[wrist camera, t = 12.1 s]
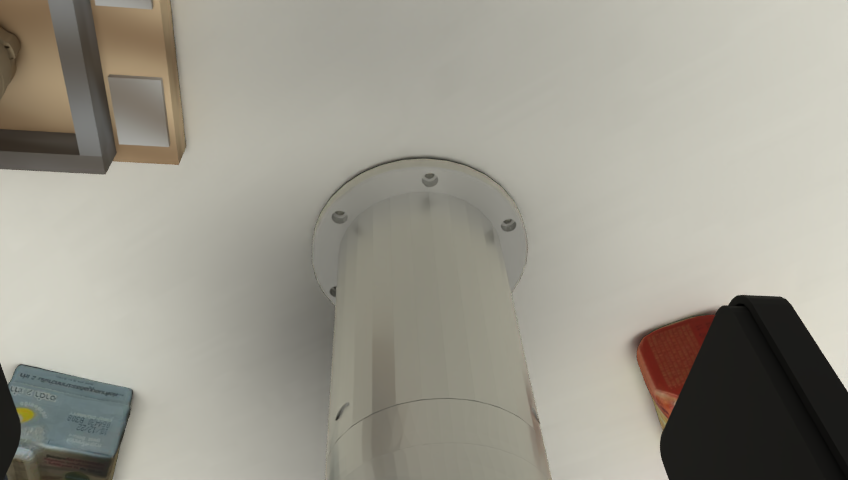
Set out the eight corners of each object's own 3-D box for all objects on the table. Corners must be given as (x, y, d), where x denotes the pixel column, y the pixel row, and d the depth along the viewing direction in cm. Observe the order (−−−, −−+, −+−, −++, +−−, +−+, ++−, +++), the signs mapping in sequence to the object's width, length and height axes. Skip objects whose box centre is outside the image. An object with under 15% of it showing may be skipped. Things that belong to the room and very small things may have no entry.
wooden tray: (185, 146, 40) (170, 186, 37) (-75, 132, 38) (-113, 171, 35) (154, -145, 31) (130, -124, 28) (-181, -176, 30) (-243, -158, 27)
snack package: (764, 473, 61) (801, 551, 56) (683, 495, 62) (712, 573, 57) (724, 297, 49) (767, 375, 43) (625, 328, 50) (655, 408, 45)
